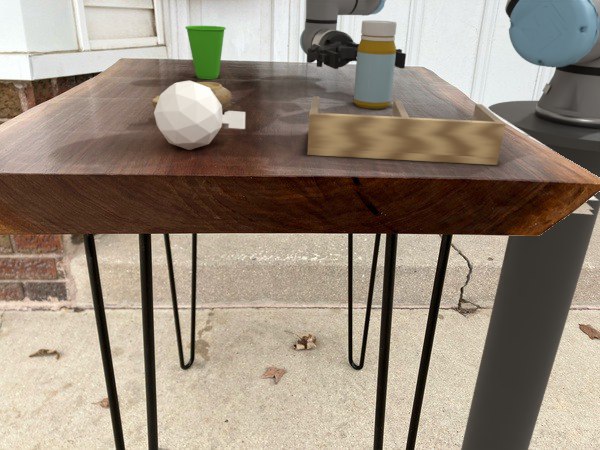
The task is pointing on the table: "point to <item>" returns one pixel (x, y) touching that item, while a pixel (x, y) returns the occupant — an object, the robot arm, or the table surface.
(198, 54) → the cup
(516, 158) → the table surface
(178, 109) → the perfume bottle
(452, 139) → the rack
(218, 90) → the oil lamp
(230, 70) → the table surface
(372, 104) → the bottle
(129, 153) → the table surface
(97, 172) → the table surface
